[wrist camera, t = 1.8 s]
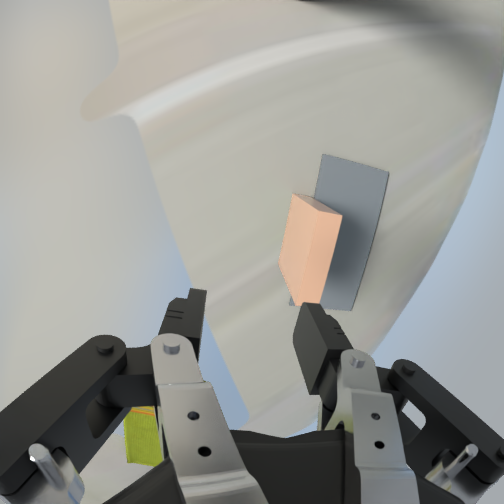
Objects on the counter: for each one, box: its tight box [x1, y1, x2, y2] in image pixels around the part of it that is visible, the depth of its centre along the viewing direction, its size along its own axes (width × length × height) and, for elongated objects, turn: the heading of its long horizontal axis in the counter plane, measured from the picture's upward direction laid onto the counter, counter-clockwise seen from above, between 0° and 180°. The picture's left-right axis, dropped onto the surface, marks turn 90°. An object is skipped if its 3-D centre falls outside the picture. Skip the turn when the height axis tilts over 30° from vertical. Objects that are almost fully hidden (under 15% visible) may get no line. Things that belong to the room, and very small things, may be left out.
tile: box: [278, 194, 342, 306], centre depth 34 cm, size 10×3×12 cm, turn 170°
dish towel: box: [124, 380, 206, 467], centre depth 51 cm, size 15×36×3 cm, turn 165°
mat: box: [289, 154, 389, 311], centre depth 41 cm, size 22×10×1 cm, turn 170°
